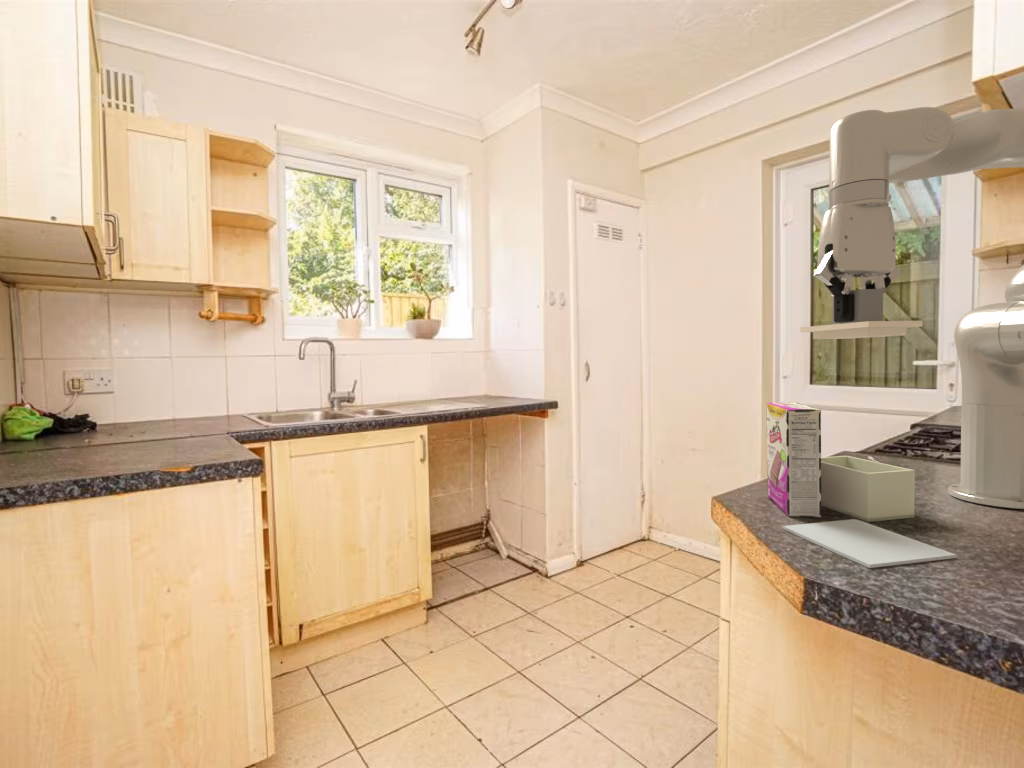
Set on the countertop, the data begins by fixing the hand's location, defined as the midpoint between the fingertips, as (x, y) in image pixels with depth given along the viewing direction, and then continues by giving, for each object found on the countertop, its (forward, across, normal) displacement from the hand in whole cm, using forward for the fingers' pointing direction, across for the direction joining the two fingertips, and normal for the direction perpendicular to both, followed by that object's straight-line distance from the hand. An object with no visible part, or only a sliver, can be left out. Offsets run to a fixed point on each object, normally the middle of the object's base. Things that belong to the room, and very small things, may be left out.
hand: (857, 320), depth 79 cm
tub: (+29, 0, 0) cm, 29 cm away
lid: (+3, 0, 0) cm, 3 cm away
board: (+29, +11, +12) cm, 34 cm away
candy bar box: (+30, +8, -3) cm, 31 cm away
